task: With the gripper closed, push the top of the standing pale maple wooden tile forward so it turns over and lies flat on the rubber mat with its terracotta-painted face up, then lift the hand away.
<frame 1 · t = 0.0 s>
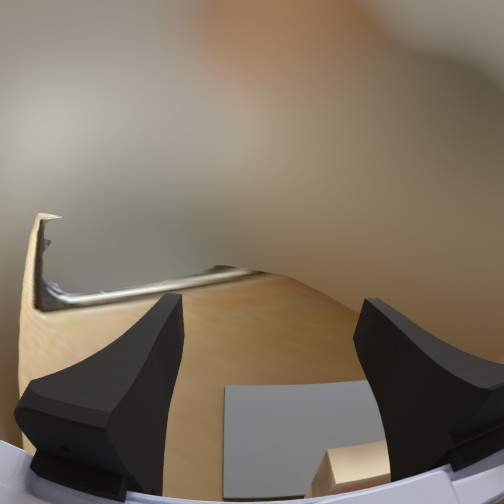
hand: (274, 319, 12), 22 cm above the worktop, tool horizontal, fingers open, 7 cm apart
mat: (316, 433, 29), on the worktop
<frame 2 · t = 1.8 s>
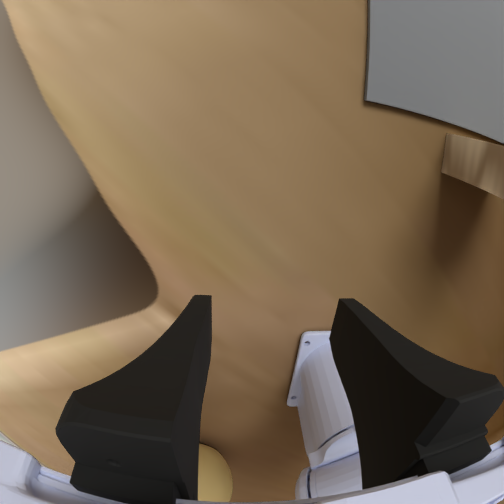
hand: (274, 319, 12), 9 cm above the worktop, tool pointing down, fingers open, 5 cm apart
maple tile: (471, 160, 19), on the worktop
beige lumpy ball: (184, 449, 32), on the worktop
mat: (478, 40, 14), on the worktop
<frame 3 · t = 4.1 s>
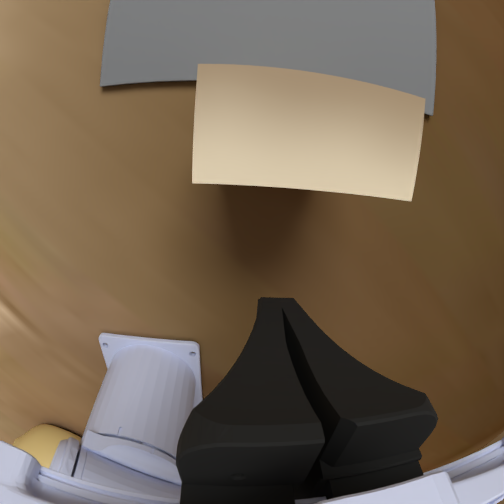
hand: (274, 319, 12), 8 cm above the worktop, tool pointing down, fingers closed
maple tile: (273, 124, 16), on the worktop
beige lumpy ball: (68, 437, 30), on the worktop
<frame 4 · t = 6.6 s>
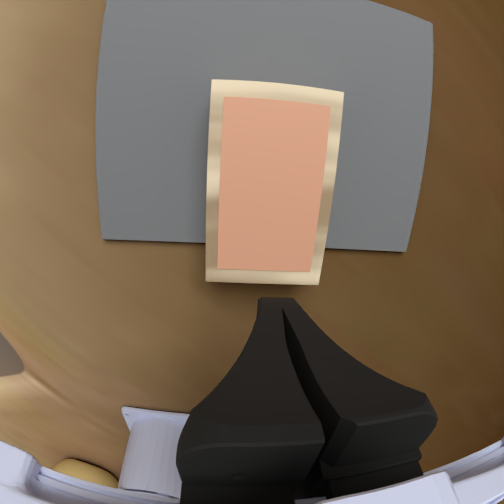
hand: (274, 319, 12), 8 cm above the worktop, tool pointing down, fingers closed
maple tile: (261, 270, 18), point 2 cm above the worktop, tilted 90°, touching mat
beige lumpy ball: (90, 467, 33), on the worktop
mat: (270, 108, 16), on the worktop
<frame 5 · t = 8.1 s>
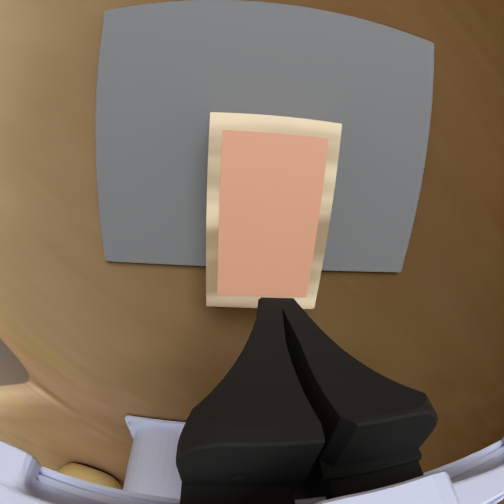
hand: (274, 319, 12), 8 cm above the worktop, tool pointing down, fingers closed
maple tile: (259, 293, 18), point 2 cm above the worktop, tilted 90°, touching mat
beige lumpy ball: (93, 471, 34), on the worktop
mat: (268, 135, 16), on the worktop
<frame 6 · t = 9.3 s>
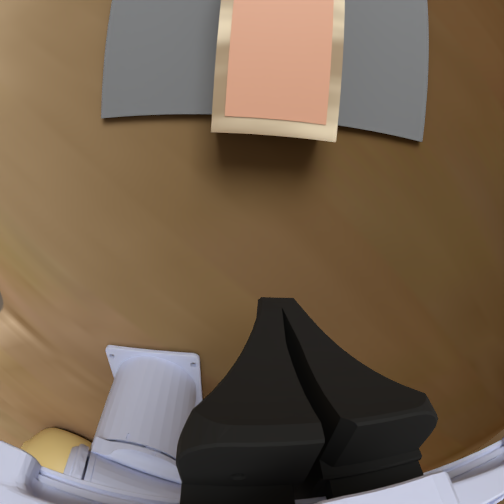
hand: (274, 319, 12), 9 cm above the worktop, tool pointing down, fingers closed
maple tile: (271, 134, 15), point 2 cm above the worktop, tilted 90°, touching mat
beige lumpy ball: (74, 440, 31), on the worktop
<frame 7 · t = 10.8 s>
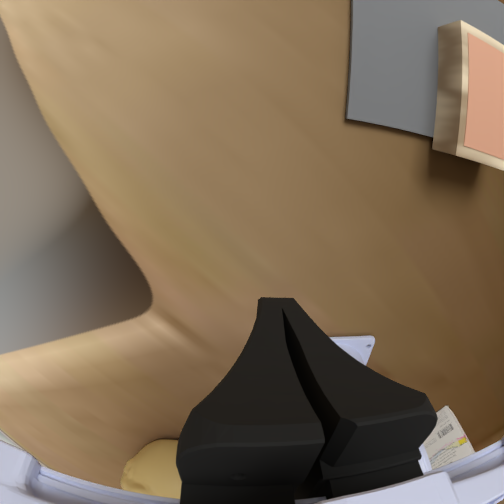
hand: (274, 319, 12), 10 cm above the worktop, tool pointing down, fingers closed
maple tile: (471, 160, 18), point 2 cm above the worktop, tilted 90°, touching mat
beige lumpy ball: (179, 449, 33), on the worktop
mat: (463, 52, 16), on the worktop
ink cartridge box: (427, 424, 34), on the worktop
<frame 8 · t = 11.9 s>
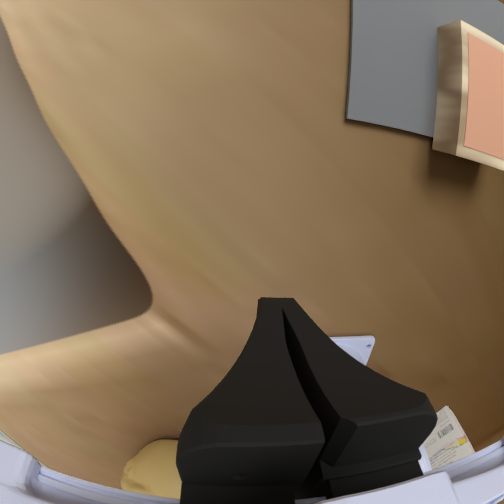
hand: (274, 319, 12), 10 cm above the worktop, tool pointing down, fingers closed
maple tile: (471, 160, 18), point 2 cm above the worktop, tilted 90°, touching mat
beige lumpy ball: (179, 449, 33), on the worktop
mat: (463, 52, 16), on the worktop
ink cartridge box: (427, 424, 34), on the worktop
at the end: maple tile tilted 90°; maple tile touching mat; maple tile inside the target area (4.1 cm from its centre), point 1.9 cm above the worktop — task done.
